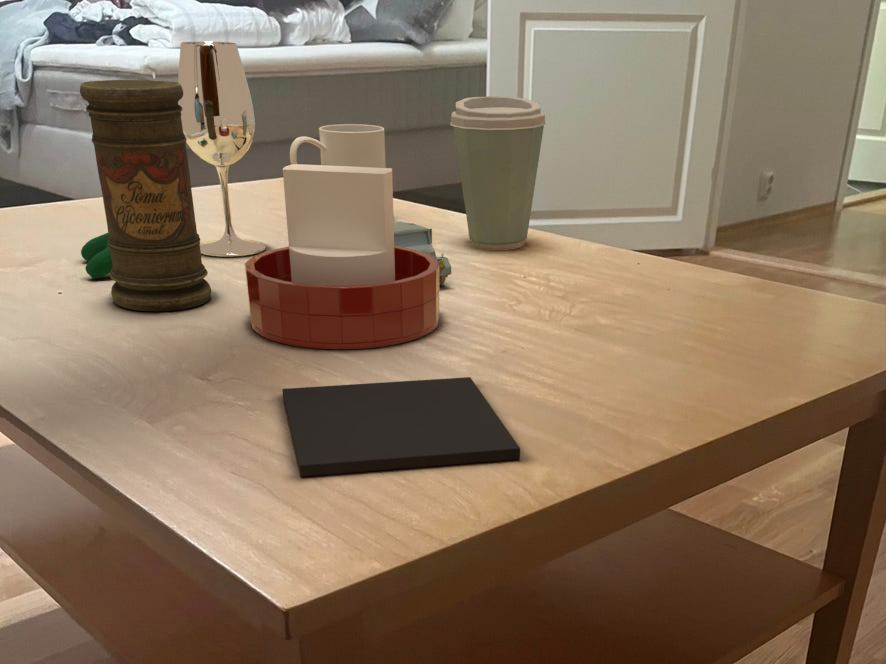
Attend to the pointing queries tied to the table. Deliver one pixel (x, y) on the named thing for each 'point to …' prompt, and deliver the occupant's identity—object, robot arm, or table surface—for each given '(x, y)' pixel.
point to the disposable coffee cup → (498, 166)
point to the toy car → (420, 244)
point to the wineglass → (217, 123)
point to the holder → (394, 426)
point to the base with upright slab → (340, 224)
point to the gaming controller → (97, 256)
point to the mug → (347, 145)
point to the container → (146, 194)
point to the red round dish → (343, 304)
